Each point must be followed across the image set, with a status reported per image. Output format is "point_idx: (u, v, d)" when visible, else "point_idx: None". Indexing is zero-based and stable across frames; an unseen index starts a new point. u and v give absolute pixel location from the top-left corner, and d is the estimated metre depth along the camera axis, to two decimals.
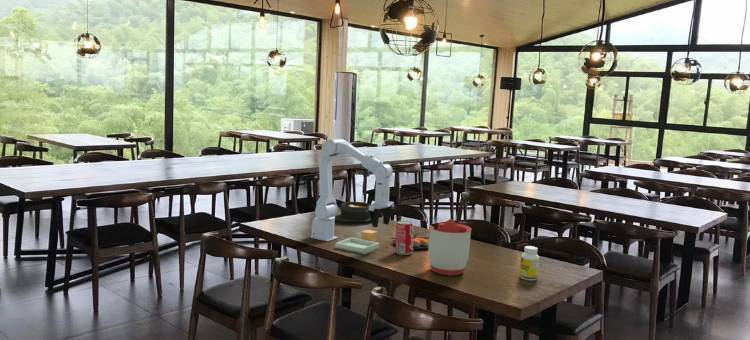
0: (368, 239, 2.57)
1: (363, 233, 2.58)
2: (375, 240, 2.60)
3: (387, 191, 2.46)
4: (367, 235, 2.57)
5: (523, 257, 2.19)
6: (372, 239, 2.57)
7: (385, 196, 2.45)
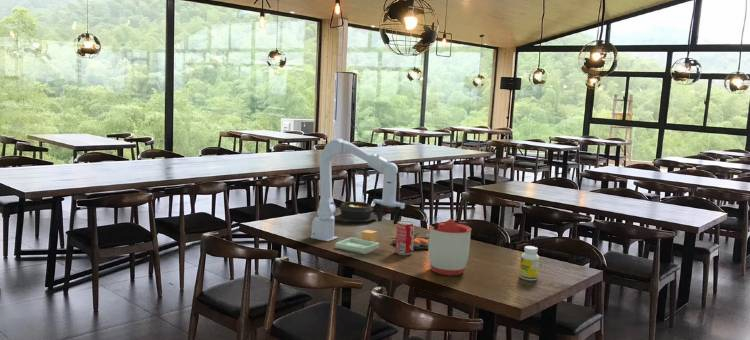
0: (368, 239, 2.57)
1: (363, 233, 2.58)
2: (375, 240, 2.60)
3: (395, 189, 2.55)
4: (367, 235, 2.57)
5: (523, 257, 2.19)
6: (372, 239, 2.57)
7: (383, 193, 2.54)
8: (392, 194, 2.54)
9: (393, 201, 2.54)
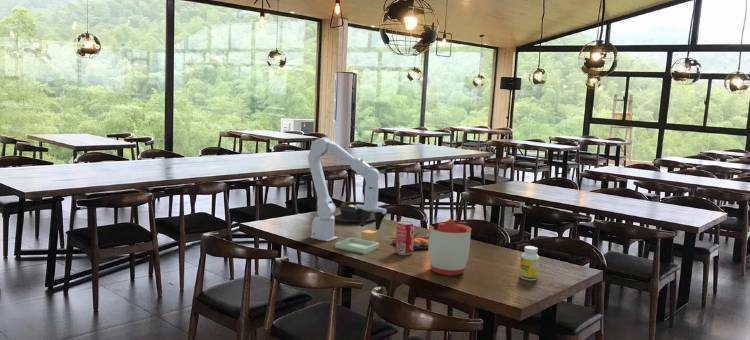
0: (368, 239, 2.57)
1: (363, 233, 2.58)
2: (375, 240, 2.60)
3: (377, 194, 2.56)
4: (367, 235, 2.57)
5: (523, 257, 2.19)
6: (372, 239, 2.57)
7: (365, 199, 2.56)
8: (374, 199, 2.55)
9: (375, 206, 2.56)
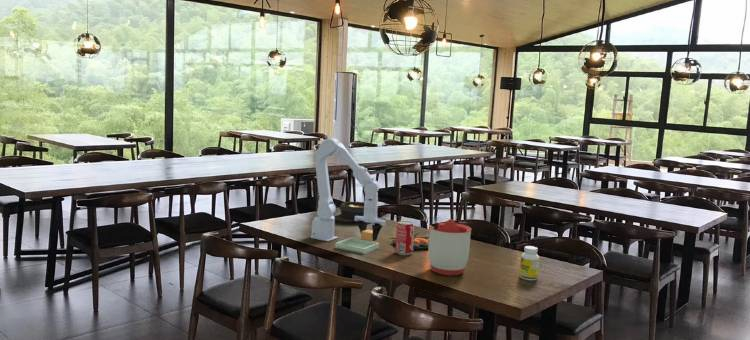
0: (368, 239, 2.57)
1: (363, 233, 2.58)
2: None
3: (376, 206, 2.57)
4: (367, 234, 2.57)
5: (523, 257, 2.19)
6: (372, 239, 2.57)
7: (365, 210, 2.56)
8: (373, 211, 2.56)
9: (374, 218, 2.56)
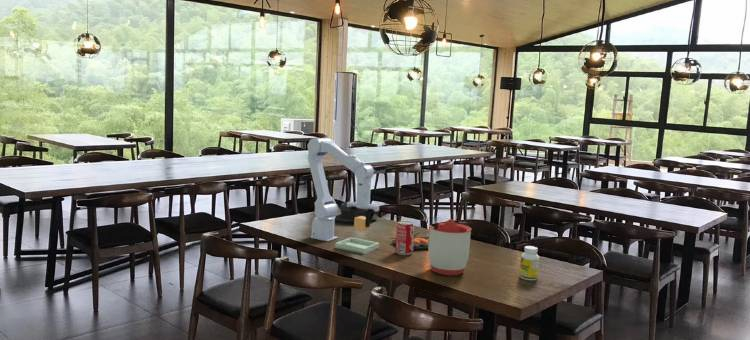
0: (361, 225, 2.49)
1: (356, 219, 2.50)
2: (368, 227, 2.52)
3: (367, 192, 2.48)
4: (360, 221, 2.49)
5: (523, 257, 2.19)
6: (365, 226, 2.50)
7: (357, 196, 2.48)
8: (366, 196, 2.48)
9: (367, 204, 2.48)
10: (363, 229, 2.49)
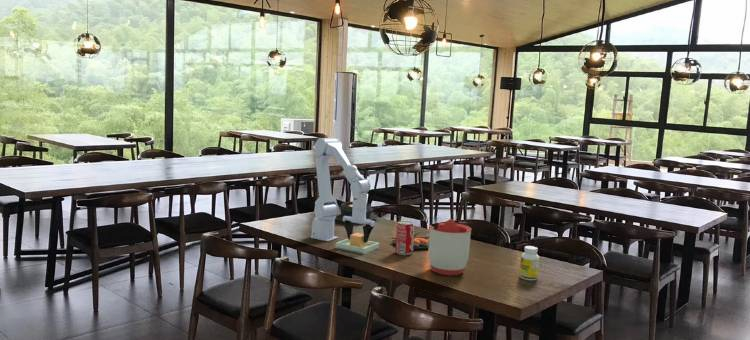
0: (357, 243, 2.47)
1: (352, 236, 2.48)
2: (364, 244, 2.50)
3: (362, 206, 2.45)
4: (355, 238, 2.47)
5: (523, 257, 2.19)
6: (361, 243, 2.48)
7: (353, 210, 2.46)
8: (362, 211, 2.45)
9: (363, 218, 2.46)
10: (359, 246, 2.47)
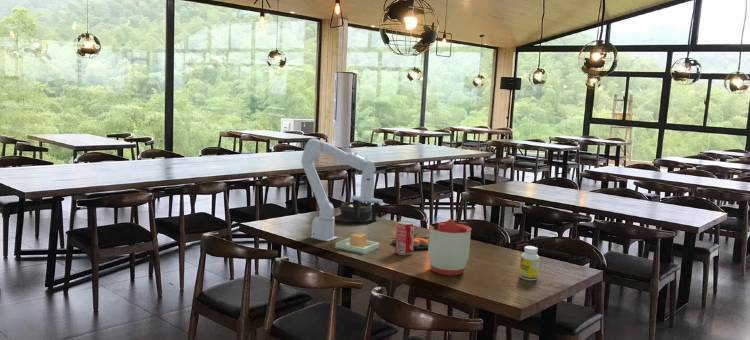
0: (357, 243, 2.47)
1: (352, 236, 2.48)
2: (364, 244, 2.50)
3: (373, 185, 2.61)
4: (355, 238, 2.47)
5: (523, 257, 2.19)
6: (361, 243, 2.48)
7: (362, 190, 2.60)
8: (370, 191, 2.59)
9: (371, 197, 2.60)
10: (359, 246, 2.47)
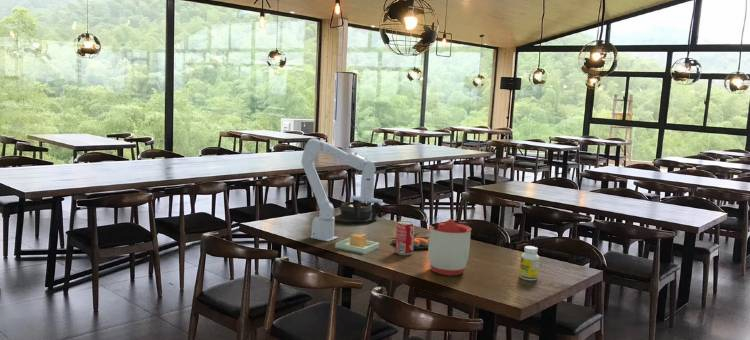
0: (357, 243, 2.47)
1: (352, 236, 2.48)
2: (364, 244, 2.50)
3: (373, 185, 2.61)
4: (355, 238, 2.47)
5: (523, 257, 2.19)
6: (361, 243, 2.48)
7: (362, 190, 2.60)
8: (370, 191, 2.59)
9: (371, 197, 2.60)
10: (359, 246, 2.47)
